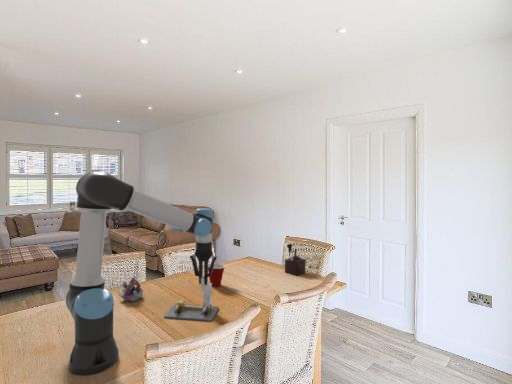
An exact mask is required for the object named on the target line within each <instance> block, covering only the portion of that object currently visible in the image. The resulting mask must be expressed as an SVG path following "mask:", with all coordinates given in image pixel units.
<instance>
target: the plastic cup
mask: <svg viewBox="0 0 512 384" xmlns="http://www.w3.org/2000/svg"><path fill="white" fill-rule="evenodd" d="M210 266H211V263H208V273H209V269H210ZM225 268H226V265H224V264H222V263H215V264H214V267H213V271H212V275H211V276H210V277H208V279H209V283H212V288H218V287H220V286H221V284H222V280H223V275H224V270H225Z"/></svg>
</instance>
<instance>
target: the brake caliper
mask: <svg viewBox="0 0 512 384" xmlns="http://www.w3.org/2000/svg"><path fill="white" fill-rule="evenodd" d="M120 286H121V287H122V292H123V293H119V294H118V296H119V297H120V298H122V300H124V301H125V302H137V301H138V300H140V298H141V299H142V298H143V296H144V295H143V292H144V290H143V289H142V287H141V283H140V281H139V282H138V280H136V278H135V277H131V280H130V281H129V283H127V282H126V281H122V283H121V285H120Z"/></svg>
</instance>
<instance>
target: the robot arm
mask: <svg viewBox="0 0 512 384" xmlns="http://www.w3.org/2000/svg"><path fill="white" fill-rule="evenodd" d="M75 190H76V194H77V200H76V202H77V203H76V209H77V210H79V212H80V222H79V231H78V241H77V251H76V253H77V254H76V262H75V264H76V265H75V275H74V276H73V278H72V279H71V280H69V289H68V291H67V293H66V296H65V303H66V304H65V305H66V307H67V310H68V311H69V312H70V315H71V317H72V318H73V319H72V320H73V322H74V345H73V348H72V350H71V353H70V355H69V357H68V358H69V359H68V370H69V371H70V372H71V373H72V374H74V375H80V376H84V375H85V376H86V375H87V374H89V375H93V373H94V374H97V372H98V373H100V371H101V372H103V371H105V369H106V370H108V369H109V368H111V367H112V366H114V365H115V364H116V363H115V362H117V361H118V360H119V356H120V355H119V351H120V350H119V347H118V346H117V342H116V340H115V337H114V305H115V300H114V296H113V293H112V292H111V291H110V290H108V289H105V287H106V286H105V284H106V279H105V278H104V277H102V270H103V260H104V259H103V258H104V248H105V247H104V246H105V238H106V237H105V235H106V226H107V225H106V224H107V223H106V222H107V215H108V213H109V212H110V211H112V209H115V210H117V211H121V212H124V211H129V212H131V213H134V214H138V215H140V216H143V217H146V218H148V219H151V220H153V221H156V222H159V223H161V224H164V225H166V226H167V225H168V226H170V228H171V230H172V231H173V232H175V233H178V232H179V233H180V232H185V233H188V234H190V235H193V236H195V241H196V242H195V252H194V253H193V254H191V255H190V256H189V259H190V260H191V263H192V267H193V272H194V276H196V277H198V284H199V285H200V292H202V293H204V284H207V283H209V282H208V279H209V277H210V276H211V275H212V271H213V267H214V264H216V261H217V259H218V256H217V255H215V254H214V253H213V242H212V241H213V222H214V221H213V220H214V219H213V218H214V217H213V210H212V209H211V208H205V207H203V208H197V209H196V211H195V212H194V213H191V212H188V211H185V210H183V209H181V208H179V207H176V206H174V205H171V204H169V203H166V202H164V201H162V200H159V199H158V198H154V197H153V196H151V195H147V194H146V193H143V192H140V191H138V190H136V189H135V187H134V186H133V185H131V184H129V183H126V182H125V181H123V180H120V179H119V178H117V177H115V176H113V175H111V174H110V173H107V172H97V171H92V172H87V173H86V174H84V175H81V177H79V179H78V181H77V183H76V186H75ZM197 260H198V263H197ZM209 260H211V263H210V264H211V266H210V269H209V272H208V264H209ZM114 363H115V364H114ZM113 364H114V365H113ZM110 366H111V367H110ZM107 368H108V369H107ZM87 376H88V375H87Z"/></svg>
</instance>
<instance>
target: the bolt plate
mask: <svg viewBox="0 0 512 384" xmlns="http://www.w3.org/2000/svg"><path fill="white" fill-rule="evenodd" d="M176 304H177V303H174V304H173V305H172V306H171V307H170V309H168V311H166V312H165V314H164V315H163V318H164V319H176V320H190V321H202V322H212V321H213V320H214V318H215V316H216V314H217V313H218V311H219V308H220V306H213V305H212V307H213V310H212V311H209V312H206V314H204V312H203V310H191V309H182V310H178V312H177V310H175V305H176ZM185 305H191V306H203V304H202V305H200V304H186V303H185Z"/></svg>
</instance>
